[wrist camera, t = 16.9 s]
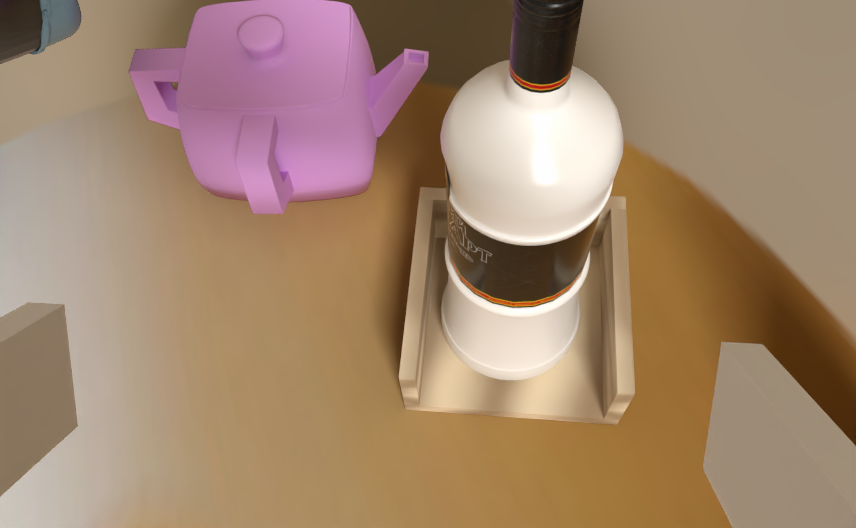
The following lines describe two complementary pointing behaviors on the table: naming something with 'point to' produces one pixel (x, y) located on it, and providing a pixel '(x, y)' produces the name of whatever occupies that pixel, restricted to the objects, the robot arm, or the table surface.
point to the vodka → (525, 196)
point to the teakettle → (276, 99)
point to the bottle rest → (541, 395)
